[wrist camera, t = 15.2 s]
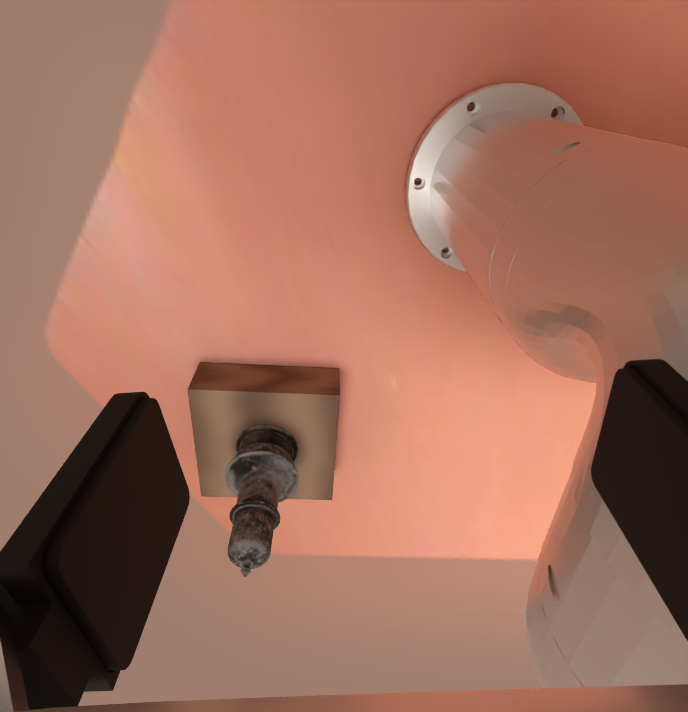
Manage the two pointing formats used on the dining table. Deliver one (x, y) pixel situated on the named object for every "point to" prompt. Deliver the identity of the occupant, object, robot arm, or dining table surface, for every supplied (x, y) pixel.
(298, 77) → the dining table surface
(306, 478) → the brown flat wooden block
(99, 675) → the robot arm
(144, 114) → the dining table surface
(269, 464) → the salt shaker
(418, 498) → the dining table surface
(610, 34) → the dining table surface
